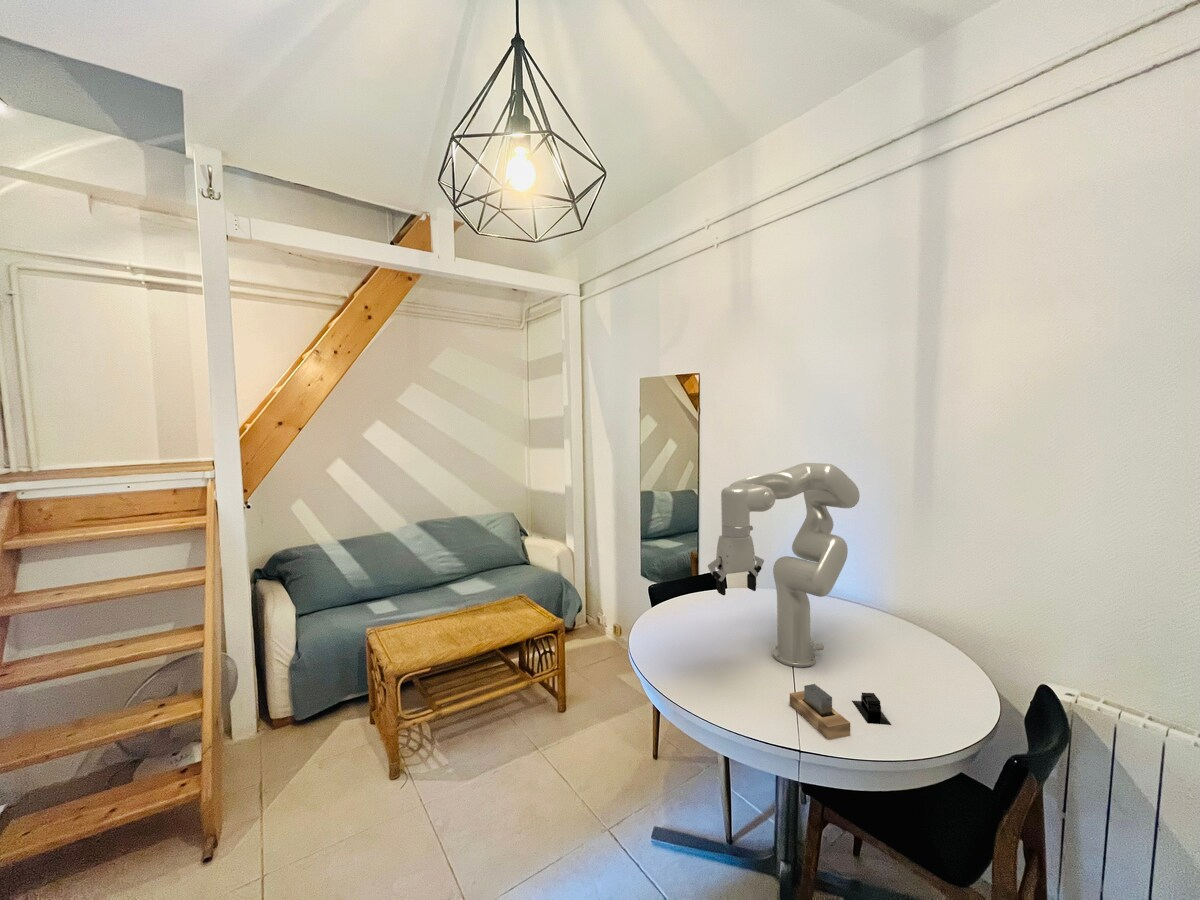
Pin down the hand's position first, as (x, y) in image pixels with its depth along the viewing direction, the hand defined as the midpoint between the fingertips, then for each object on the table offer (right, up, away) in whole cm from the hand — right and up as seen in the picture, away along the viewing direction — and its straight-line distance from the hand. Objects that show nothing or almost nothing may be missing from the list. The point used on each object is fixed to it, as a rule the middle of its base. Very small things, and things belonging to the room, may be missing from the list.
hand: (736, 591), depth 126 cm
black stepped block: (+30, -27, -13) cm, 42 cm away
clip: (+15, -27, -16) cm, 34 cm away
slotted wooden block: (+15, -27, -16) cm, 34 cm away
